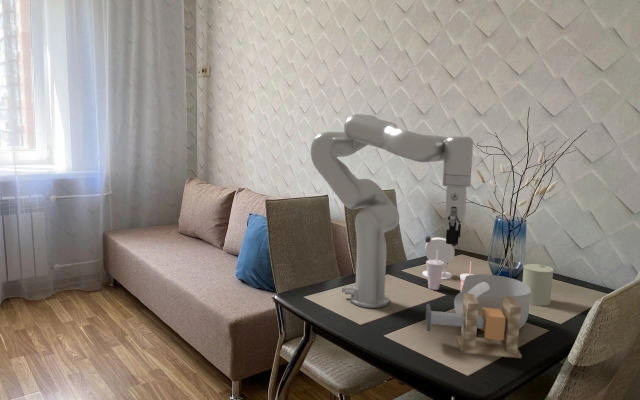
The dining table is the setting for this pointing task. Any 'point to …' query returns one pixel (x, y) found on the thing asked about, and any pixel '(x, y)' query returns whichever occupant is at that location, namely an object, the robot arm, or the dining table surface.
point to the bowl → (494, 293)
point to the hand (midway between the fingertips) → (453, 240)
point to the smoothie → (434, 272)
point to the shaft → (450, 319)
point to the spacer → (493, 323)
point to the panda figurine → (439, 253)
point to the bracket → (484, 345)
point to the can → (538, 283)
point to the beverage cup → (465, 276)
